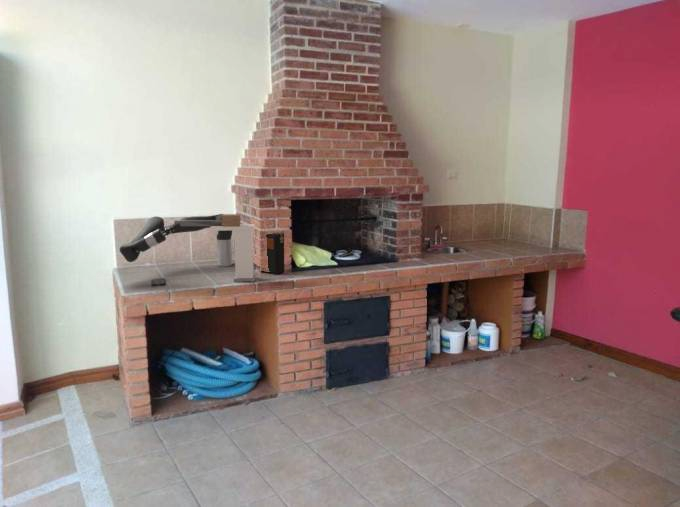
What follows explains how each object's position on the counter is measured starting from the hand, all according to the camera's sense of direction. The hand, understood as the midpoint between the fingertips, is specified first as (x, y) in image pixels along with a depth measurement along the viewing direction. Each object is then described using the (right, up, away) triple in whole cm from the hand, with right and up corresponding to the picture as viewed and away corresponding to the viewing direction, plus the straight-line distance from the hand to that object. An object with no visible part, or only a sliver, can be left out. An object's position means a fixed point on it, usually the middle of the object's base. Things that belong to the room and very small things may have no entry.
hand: (180, 224), depth 305 cm
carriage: (+15, -1, +2) cm, 15 cm away
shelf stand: (+28, -32, +10) cm, 44 cm away
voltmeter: (+47, -28, +31) cm, 63 cm away
